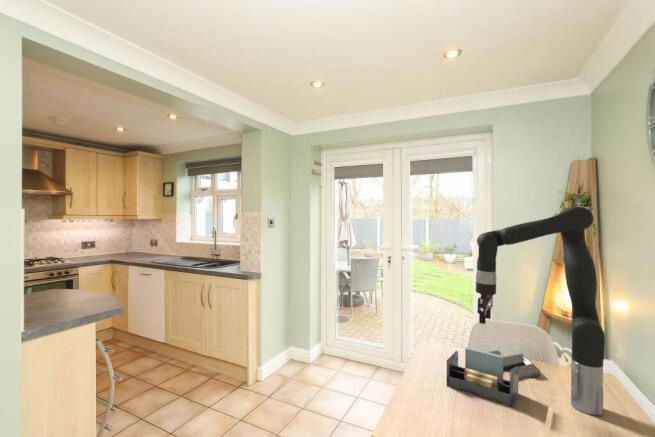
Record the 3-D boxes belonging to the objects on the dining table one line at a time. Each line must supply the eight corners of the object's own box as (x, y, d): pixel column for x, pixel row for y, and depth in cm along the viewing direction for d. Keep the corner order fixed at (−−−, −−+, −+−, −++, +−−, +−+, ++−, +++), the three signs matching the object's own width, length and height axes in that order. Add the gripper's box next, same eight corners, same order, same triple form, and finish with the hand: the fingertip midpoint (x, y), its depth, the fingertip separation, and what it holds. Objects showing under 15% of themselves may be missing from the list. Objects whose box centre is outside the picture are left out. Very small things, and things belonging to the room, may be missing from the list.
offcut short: (492, 396, 125) (492, 380, 125) (491, 398, 124) (491, 383, 124) (468, 388, 131) (468, 373, 131) (466, 390, 129) (466, 375, 129)
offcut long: (498, 394, 126) (498, 377, 126) (496, 397, 124) (497, 379, 124) (465, 384, 134) (466, 368, 134) (464, 386, 132) (464, 369, 132)
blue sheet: (503, 390, 129) (503, 356, 129) (502, 393, 127) (502, 357, 127) (466, 379, 138) (466, 347, 138) (465, 381, 136) (465, 348, 136)
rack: (518, 397, 127) (518, 367, 127) (512, 411, 118) (513, 379, 118) (455, 377, 142) (455, 350, 142) (446, 389, 133) (446, 360, 133)
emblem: (479, 341, 171) (542, 355, 154) (479, 351, 171) (542, 366, 154) (465, 360, 149) (537, 378, 132) (465, 371, 149) (537, 391, 132)
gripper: (491, 285, 124) (490, 327, 125) (499, 280, 135) (498, 318, 136) (471, 283, 129) (470, 323, 129) (480, 277, 140) (479, 314, 140)
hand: (485, 320), depth 133 cm, fingers open, 8 cm apart
